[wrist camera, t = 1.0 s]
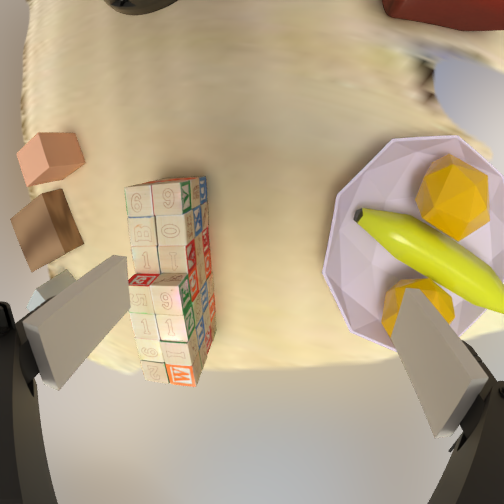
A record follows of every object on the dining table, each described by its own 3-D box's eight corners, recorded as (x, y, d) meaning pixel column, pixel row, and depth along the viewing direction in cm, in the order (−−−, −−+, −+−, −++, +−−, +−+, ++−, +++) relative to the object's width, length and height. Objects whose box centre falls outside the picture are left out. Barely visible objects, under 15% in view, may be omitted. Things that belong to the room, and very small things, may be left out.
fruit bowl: (273, 243, 38) (269, 278, 27) (421, 95, 30) (467, 77, 19) (400, 366, 41) (422, 416, 31) (519, 248, 34) (564, 273, 23)
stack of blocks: (159, 178, 37) (108, 189, 25) (207, 175, 36) (171, 184, 24) (176, 329, 43) (144, 382, 31) (217, 331, 42) (196, 389, 31)
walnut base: (30, 212, 40) (10, 219, 36) (63, 188, 39) (41, 193, 34) (50, 261, 43) (31, 272, 38) (84, 243, 41) (65, 253, 36)
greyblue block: (55, 287, 44) (26, 307, 36) (66, 269, 42) (35, 288, 35) (74, 309, 44) (46, 332, 37) (86, 292, 43) (57, 315, 35)
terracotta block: (53, 150, 37) (16, 153, 29) (75, 132, 36) (38, 132, 28) (63, 179, 38) (26, 186, 30) (85, 162, 37) (49, 167, 29)
